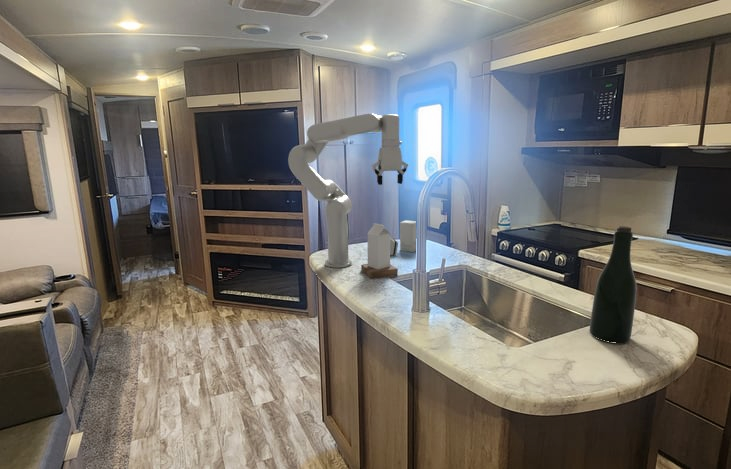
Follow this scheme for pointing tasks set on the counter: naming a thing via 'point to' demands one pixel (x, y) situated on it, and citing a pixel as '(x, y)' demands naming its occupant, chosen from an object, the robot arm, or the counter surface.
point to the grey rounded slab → (393, 246)
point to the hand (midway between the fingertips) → (390, 184)
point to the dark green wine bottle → (615, 293)
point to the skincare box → (408, 236)
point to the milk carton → (378, 247)
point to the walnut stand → (379, 271)
